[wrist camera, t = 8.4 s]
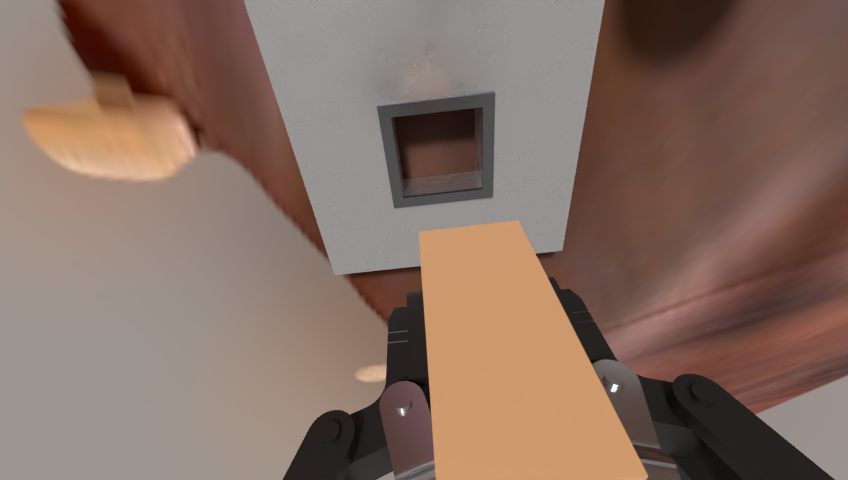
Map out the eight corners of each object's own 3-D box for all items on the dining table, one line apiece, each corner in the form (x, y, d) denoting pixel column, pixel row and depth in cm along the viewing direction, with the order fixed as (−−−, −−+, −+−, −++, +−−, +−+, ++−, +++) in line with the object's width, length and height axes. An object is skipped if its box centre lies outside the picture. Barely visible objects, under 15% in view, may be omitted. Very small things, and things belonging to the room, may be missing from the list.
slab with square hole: (588, -41, 21) (615, -45, 18) (550, 231, 33) (563, 252, 30) (262, -1, 21) (241, 0, 19) (339, 254, 33) (334, 277, 30)
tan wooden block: (518, 220, 14) (648, 476, 7) (513, 292, 16) (605, 540, 9) (418, 232, 14) (436, 497, 7) (428, 302, 16) (450, 555, 9)
